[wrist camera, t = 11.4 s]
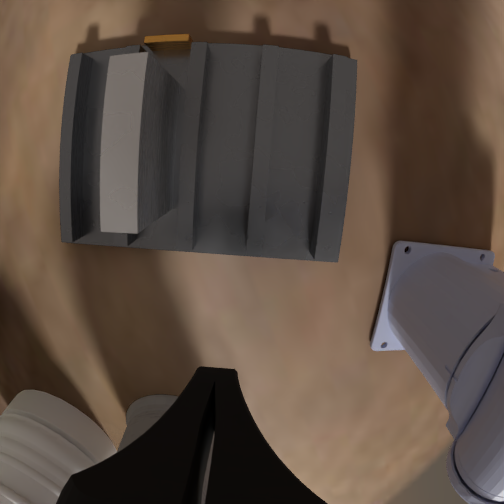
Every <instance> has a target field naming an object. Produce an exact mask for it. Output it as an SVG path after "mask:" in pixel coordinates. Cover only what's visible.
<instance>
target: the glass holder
mask: <svg viewBox="0 0 504 504" xmlns="http://www.w3.org/2000/svg"><path fill="white" fill-rule="evenodd" d="M177 398H178V396H173V395H149V396H145V397H142V398H140V399H138V400H136V401H134V402H133V403H132V404H131V405H130V407H129V408H128V410H127V414H126V424H127V427H126V430H125V432H124V435H123V438H122V440H121V443H120V445H119V448H118V451H117V452H119V451H120V450H122V449H123V448H125V447H126V446H128V445H129V444H130V443H132V442H133V441H134V440H136V439H137V438H138V437H140V436H141V435H142V434H143V433H145V432H146V431H147V430H148V429H149V428H150V427H151V426H152V425H153V424H155V423H156V422H157V421H158V420H159V419H160V418H161V417H162V415H163V414H164V413H165V412H166V411H167V410H168V409H169V408H170V407H171V406H172V404H173V403H174V402H175V401H176V399H177ZM213 443H214V434H213V439H212V444H211V449H210V453H209V458H208V463H207V468H206V472H205V477H204V483H203V490H202V501H201V504H205V499H206V492H207V486H208V479H209V472H210V465H211V458H212V451H213Z"/></svg>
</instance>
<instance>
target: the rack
mask: <svg viewBox="0 0 504 504" xmlns="http://www.w3.org/2000/svg"><path fill="white" fill-rule="evenodd" d="M144 43H145V45H146V46H141V45H133V46H126V47H125V48H117V49H109V50H102V51H96V52H89V53H78V54H73V55H71V57H70V62H69V68H68V75H67V81H66V89H65V97H64V105H63V115H62V127H61V142H60V170H59V196H60V225H61V240H62V242H66V243H79V244H92V245H105V246H118V247H131V248H144V249H158V250H171V251H184V252H198V253H212V254H226V255H239V256H253V257H267V258H281V259H296V260H310V261H324V262H338V258H339V252H340V245H341V239H342V232H343V225H344V217H345V209H346V201H347V193H348V184H349V175H350V165H351V155H352V144H353V131H354V117H355V101H356V80H357V60H355V59H350V58H348V57H346V56H341V55H336V54H333V55H329V54H324V53H318V52H311V51H304V50H297V49H289V48H281V47H279V46H273V45H263V46H260V45H245V44H223V43H207V42H193V41H192V39H191V37H190V35H189V34H175V35H157V36H145V40H144ZM141 52H149V53H150V54H151V55H152V56H153V57H154V58H155V59H156V60H157V61H158V62H159V63H160V64H161V65H162V66H163V67H164V68H165V69H166V70H167V71H168V73H169V74H170V75H171V76H172V77H173V78H174V79H175V80H176V81H177V82H178V83H179V84H180V92H179V103H178V115H177V128H176V143H175V161H174V184H173V209H172V210H170V211H169V212H167V213H166V214H164V215H163V216H162V217H160V218H159V219H157V220H156V221H155V222H153V223H152V224H150V225H149V226H148V227H146V228H145V229H143V230H142V231H141V232H139V233H138V234H134V233H116V232H101V225H100V156H101V135H102V121H103V109H104V98H105V89H106V81H107V73H108V66H109V59H110V56H114V55H122V54H131V53H141Z"/></svg>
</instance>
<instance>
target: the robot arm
mask: <svg viewBox="0 0 504 504" xmlns="http://www.w3.org/2000/svg"><path fill="white" fill-rule="evenodd" d="M407 246H408V247H409V249H408V251H407V252H404V250H405V248H406V247H407ZM481 255H482V256H481ZM480 256H481V258H480ZM494 257H495V255H494V253H493V252H492V251H490V250H482V249H474V248H465V247H456V246H447V245H438V244H429V243H420V242H410V241H401V240H400V241H397V242H395V243H394V245H393V247H392V253H391V258H390V263H389V268H388V273H387V277H386V282H385V286H384V291H383V295H382V299H381V304H380V308H379V312H378V316H377V320H376V323H375V327H374V331H373V335H372V338H371V342H370V346H371V348H372V350H374V351H387V350H406V352H407V353H408V354H409V356H410V357H411V359H412V360H413V361H414V363H415V364H416V365H417V367H418V368H419V370H420V371H421V372H422V374H423V375H424V377H425V378H426V379H427V381H428V382H429V384H430V385H431V387H432V388H433V390H434V391H435V392H436V394H437V395H438V397H439V398H440V400H441V401H442V403H443V404H444V406H445V407H446V409H447V410H448V411H449V419H448V422H447V424H446V427H447V428H448V430H449V432H450V433H451V435H452V436H453V438H454V441H453V443H452V445H451V446H450V448H449V451H448V454H447V459H446V468H447V473H448V477H449V479H450V482H451V484H452V486H453V487H454V489H455V490H456V492H457V493H458V494H459V495H460V496H461V497H462V498H463V499H464V500H465V501H466V502H468V503H469V504H504V272H503V271H501V270H499V269H498V268H496V267H494V266H493V262H494ZM383 342H385V344H384V345H381V344H382V343H383ZM213 434H214V443H213V451H212V458H211V465H210V472H209V479H208V486H207V492H206V499H205V504H327V503H326V502H325V501H324V500H322V499H321V498H320V497H318V496H317V495H316V494H315V493H313V492H312V491H311V490H310V489H309V488H307V487H306V486H305V485H304V484H303V483H302V482H301V481H300V480H299V479H298V478H297V477H296V476H295V475H294V474H293V473H292V472H291V471H290V470H289V469H288V468H287V467H286V465H285V464H284V463H283V462H282V461H281V460H280V459H279V458H278V456H277V455H276V454H275V452H274V451H273V450H272V448H271V447H270V446H269V444H268V443H267V441H266V440H265V438H264V437H263V435H262V433H261V432H260V430H259V428H258V427H257V425H256V423H255V421H254V419H253V417H252V415H251V413H250V411H249V409H248V407H247V404H246V402H245V400H244V397H243V394H242V391H241V388H240V385H239V380H238V374H237V371H236V370H235V369H225V368H213V367H202V366H200V367H199V368H197V370H196V372H195V374H194V375H193V377H192V379H191V380H190V382H189V383H188V385H187V386H186V388H185V389H184V390H183V392H182V393H181V394H180V396H179V397H178V398H177V399H176V401H175V402H174V403H173V404H172V406H171V407H170V408H169V409H168V410H167V411H166V412H165V413H164V414H163V415H162V417H161V418H160V419H159V420H158V421H157V422H156V423H155V424H153V425H152V426H151V427H150V428H149V429H148V430H147V431H146V432H145V433H143V434H142V435H141V436H140V437H138V438H137V439H136V440H134V441H133V442H132V443H130V444H129V445H128V446H126V447H125V448H123V449H122V450H120V451H119V452H117V453H115V454H114V455H112V456H110V457H108V458H107V459H105V460H103V461H102V462H100V463H98V464H96V465H93V466H91V467H89V468H87V469H84V470H82V471H80V472H78V473H75V474H72V475H71V476H70V478H69V480H68V481H67V483H66V484H65V486H64V487H63V489H62V491H61V493H60V495H59V498H58V500H57V502H56V504H201V501H202V490H203V483H204V477H205V472H206V468H207V463H208V458H209V453H210V449H211V444H212V439H213Z"/></svg>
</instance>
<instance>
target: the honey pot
mask: <svg viewBox="0 0 504 504" xmlns="http://www.w3.org/2000/svg"><path fill="white" fill-rule="evenodd" d="M115 453H117V451H116V449H115V447H114V445H113V443H112V441H111V440H110V438H109V437H108V436H107V435H106V433H105V432H104V431H103V430H102V429H101V428H100V427H99V426H98V425H97V424H96V423H95V422H94V421H93V420H92V419H90V418H89V417H88V416H86V415H85V414H84V413H82V412H81V411H80V410H78V409H77V408H76V407H74V406H72V405H71V404H69V403H67V402H65V401H64V400H62V399H60V398H58V397H56V396H53V395H51V394H49V393H46V392H42V391H38V390H23V391H21V392H20V393H18V394H17V395H16V396H15V397H14V399H13V400H12V401H11V403H10V404H9V405H8V406H7V408H6V409H5V410H4V411H3V413H2V415H1V416H0V504H56V502H57V500H58V498H59V495H60V493H61V491H62V489H63V487H64V486H65V484H66V483H67V481H68V480H69V478H70V476H71V475H72V474H75V473H78V472H80V471H82V470H84V469H87V468H89V467H91V466H93V465H96V464H98V463H100V462H102V461H103V460H105V459H107V458H108V457H110V456H112V455H114V454H115Z"/></svg>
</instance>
